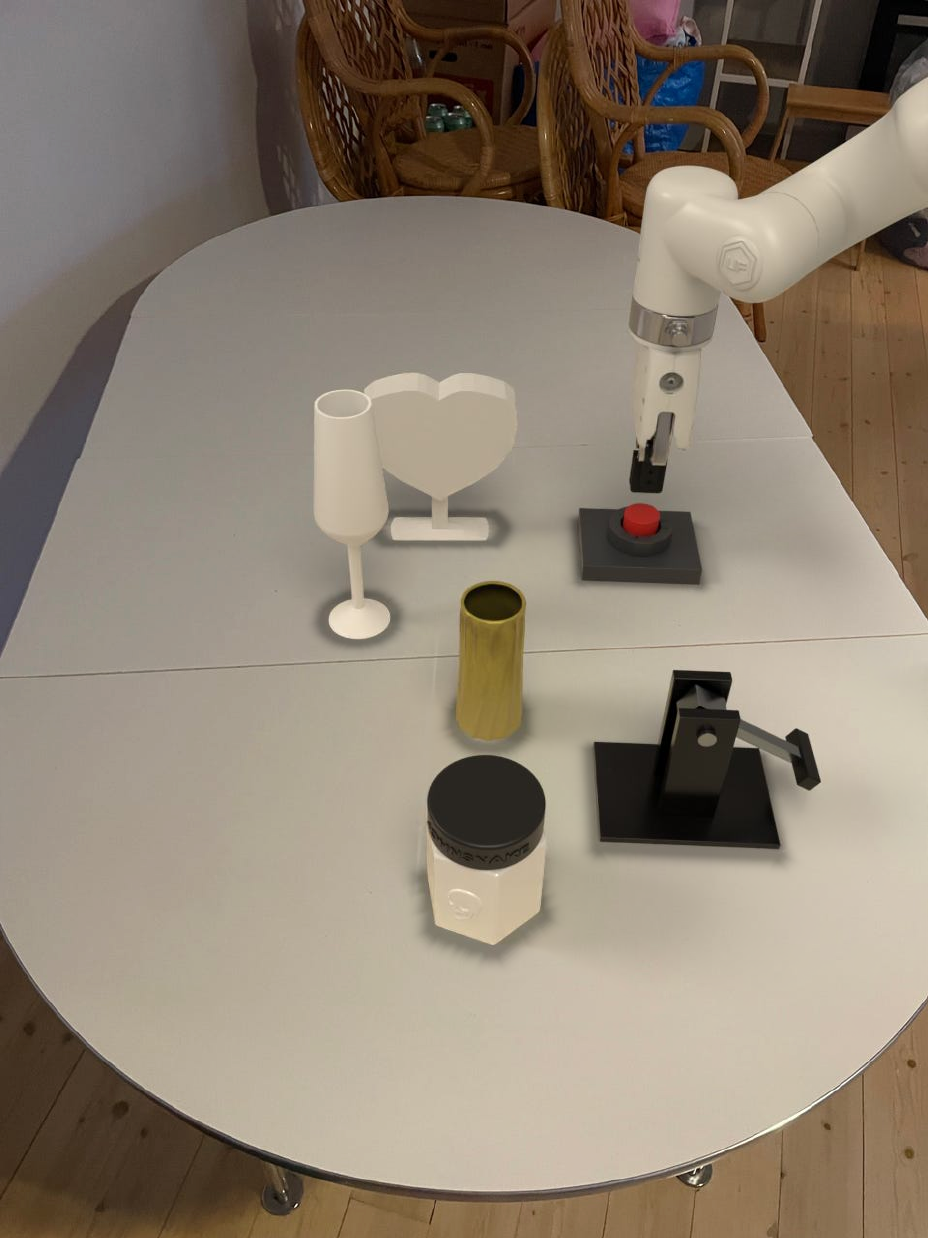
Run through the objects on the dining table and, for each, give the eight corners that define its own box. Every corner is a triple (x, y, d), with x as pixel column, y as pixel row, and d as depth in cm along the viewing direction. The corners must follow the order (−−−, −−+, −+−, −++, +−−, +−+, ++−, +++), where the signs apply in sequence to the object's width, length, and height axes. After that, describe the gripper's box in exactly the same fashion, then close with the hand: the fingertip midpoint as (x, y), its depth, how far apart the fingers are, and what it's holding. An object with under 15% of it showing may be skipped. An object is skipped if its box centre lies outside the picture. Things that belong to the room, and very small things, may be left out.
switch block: (687, 527, 114) (693, 497, 111) (698, 586, 107) (705, 555, 104) (577, 523, 114) (580, 493, 112) (581, 582, 107) (584, 551, 104)
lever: (792, 746, 84) (813, 729, 83) (804, 795, 81) (826, 778, 79) (673, 689, 81) (693, 670, 79) (681, 737, 77) (702, 719, 76)
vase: (439, 721, 92) (439, 598, 83) (490, 688, 95) (494, 566, 86) (487, 760, 89) (491, 638, 79) (537, 725, 92) (548, 603, 83)
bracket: (755, 759, 89) (788, 651, 81) (776, 856, 82) (815, 748, 73) (592, 752, 90) (607, 644, 81) (598, 849, 82) (615, 741, 74)
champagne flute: (388, 593, 105) (377, 380, 89) (399, 638, 100) (389, 420, 84) (321, 602, 104) (298, 387, 88) (329, 647, 99) (306, 429, 83)
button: (656, 516, 109) (658, 503, 108) (659, 537, 107) (661, 524, 106) (621, 515, 109) (623, 502, 108) (624, 536, 107) (626, 522, 106)
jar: (406, 925, 77) (401, 825, 69) (447, 840, 83) (447, 739, 75) (521, 965, 75) (530, 866, 67) (555, 875, 80) (566, 774, 72)
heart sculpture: (510, 516, 115) (517, 369, 103) (512, 544, 111) (520, 395, 99) (369, 516, 115) (360, 368, 103) (367, 544, 111) (357, 394, 99)
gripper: (727, 359, 87) (691, 535, 99) (703, 282, 98) (674, 449, 110) (636, 356, 87) (612, 532, 99) (624, 280, 98) (603, 446, 111)
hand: (645, 488), depth 105 cm, fingers closed
